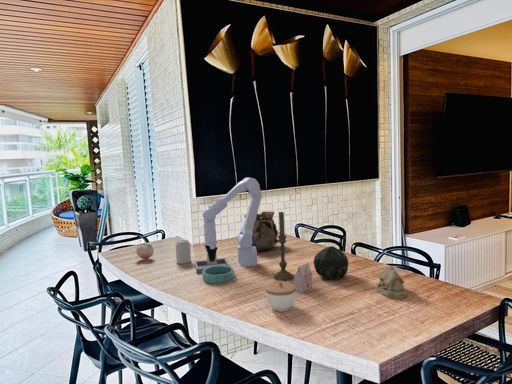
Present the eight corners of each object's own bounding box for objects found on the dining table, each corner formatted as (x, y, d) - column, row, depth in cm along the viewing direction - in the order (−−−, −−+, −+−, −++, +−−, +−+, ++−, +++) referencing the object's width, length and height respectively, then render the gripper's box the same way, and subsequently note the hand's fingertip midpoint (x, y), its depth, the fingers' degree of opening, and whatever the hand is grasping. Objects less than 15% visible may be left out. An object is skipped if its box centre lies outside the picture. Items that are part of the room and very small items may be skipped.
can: (187, 265, 184) (186, 242, 183) (174, 265, 186) (172, 242, 184) (193, 261, 191) (191, 239, 190) (180, 260, 193) (178, 239, 192)
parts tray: (225, 262, 186) (225, 258, 185) (230, 270, 172) (229, 265, 172) (194, 266, 182) (194, 261, 182) (197, 274, 168) (196, 269, 168)
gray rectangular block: (215, 261, 179) (215, 249, 179) (216, 263, 175) (216, 251, 175) (206, 262, 178) (206, 250, 178) (207, 264, 174) (206, 252, 174)
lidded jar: (264, 303, 132) (263, 278, 131) (293, 300, 133) (292, 276, 132) (268, 315, 121) (267, 288, 120) (299, 313, 122) (298, 286, 121)
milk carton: (295, 290, 143) (294, 266, 142) (304, 286, 148) (304, 262, 147) (302, 293, 140) (302, 268, 139) (312, 288, 145) (311, 263, 144)
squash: (329, 256, 169) (317, 237, 161) (358, 263, 159) (346, 243, 150) (316, 282, 163) (302, 263, 155) (345, 291, 152) (332, 271, 144)
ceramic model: (371, 286, 145) (371, 262, 144) (398, 284, 145) (398, 260, 144) (384, 300, 131) (384, 273, 130) (415, 298, 131) (415, 271, 130)
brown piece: (256, 242, 229) (254, 209, 227) (288, 246, 215) (287, 210, 213) (231, 251, 208) (229, 215, 207) (264, 256, 195) (263, 217, 193)
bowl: (231, 271, 170) (230, 264, 170) (236, 281, 157) (236, 273, 156) (201, 275, 167) (201, 267, 167) (204, 285, 153) (204, 277, 153)
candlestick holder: (295, 274, 162) (293, 209, 160) (291, 281, 154) (288, 212, 151) (276, 273, 165) (274, 209, 163) (270, 279, 157) (268, 212, 154)
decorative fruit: (157, 257, 202) (155, 240, 201) (151, 261, 194) (150, 243, 193) (141, 257, 203) (139, 240, 202) (134, 261, 195) (133, 243, 194)
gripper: (200, 231, 181) (202, 257, 183) (203, 236, 167) (205, 265, 169) (214, 229, 183) (215, 255, 184) (218, 235, 169) (219, 263, 170)
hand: (211, 260), depth 177 cm, fingers closed on gray rectangular block, 4 cm apart
